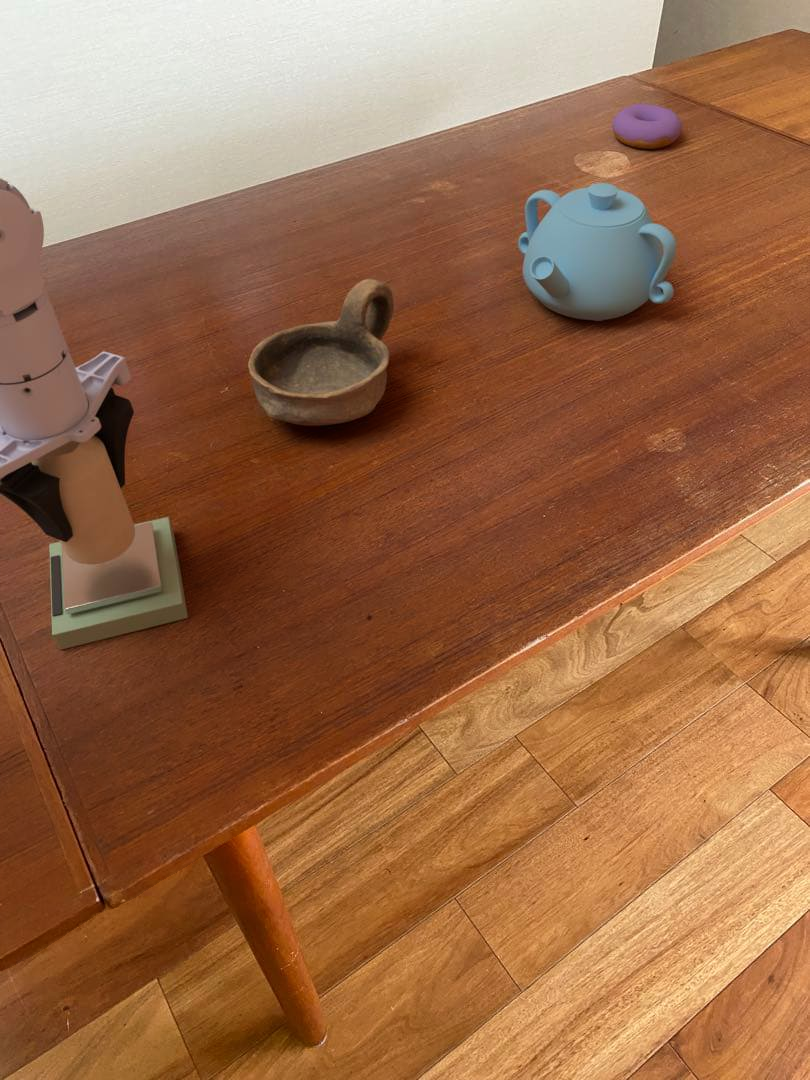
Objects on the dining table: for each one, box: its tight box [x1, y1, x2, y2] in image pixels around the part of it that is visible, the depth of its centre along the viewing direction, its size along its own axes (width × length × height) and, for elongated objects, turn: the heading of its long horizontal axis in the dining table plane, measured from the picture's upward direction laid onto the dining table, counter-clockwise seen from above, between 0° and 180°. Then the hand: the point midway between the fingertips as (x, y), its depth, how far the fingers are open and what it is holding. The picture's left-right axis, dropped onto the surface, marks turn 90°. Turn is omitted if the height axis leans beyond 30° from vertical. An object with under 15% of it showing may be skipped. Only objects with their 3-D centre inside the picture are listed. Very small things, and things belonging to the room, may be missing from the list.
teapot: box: [517, 182, 677, 322], centre depth 94 cm, size 20×20×13 cm
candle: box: [32, 435, 135, 565], centre depth 64 cm, size 6×6×10 cm
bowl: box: [247, 278, 395, 427], centre depth 84 cm, size 14×18×10 cm
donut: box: [611, 103, 682, 150], centre depth 126 cm, size 10×9×5 cm
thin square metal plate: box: [62, 522, 163, 615], centre depth 70 cm, size 7×7×1 cm
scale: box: [48, 516, 189, 651], centre depth 71 cm, size 10×10×2 cm
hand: (86, 508), depth 65 cm, fingers closed on candle, 5 cm apart
